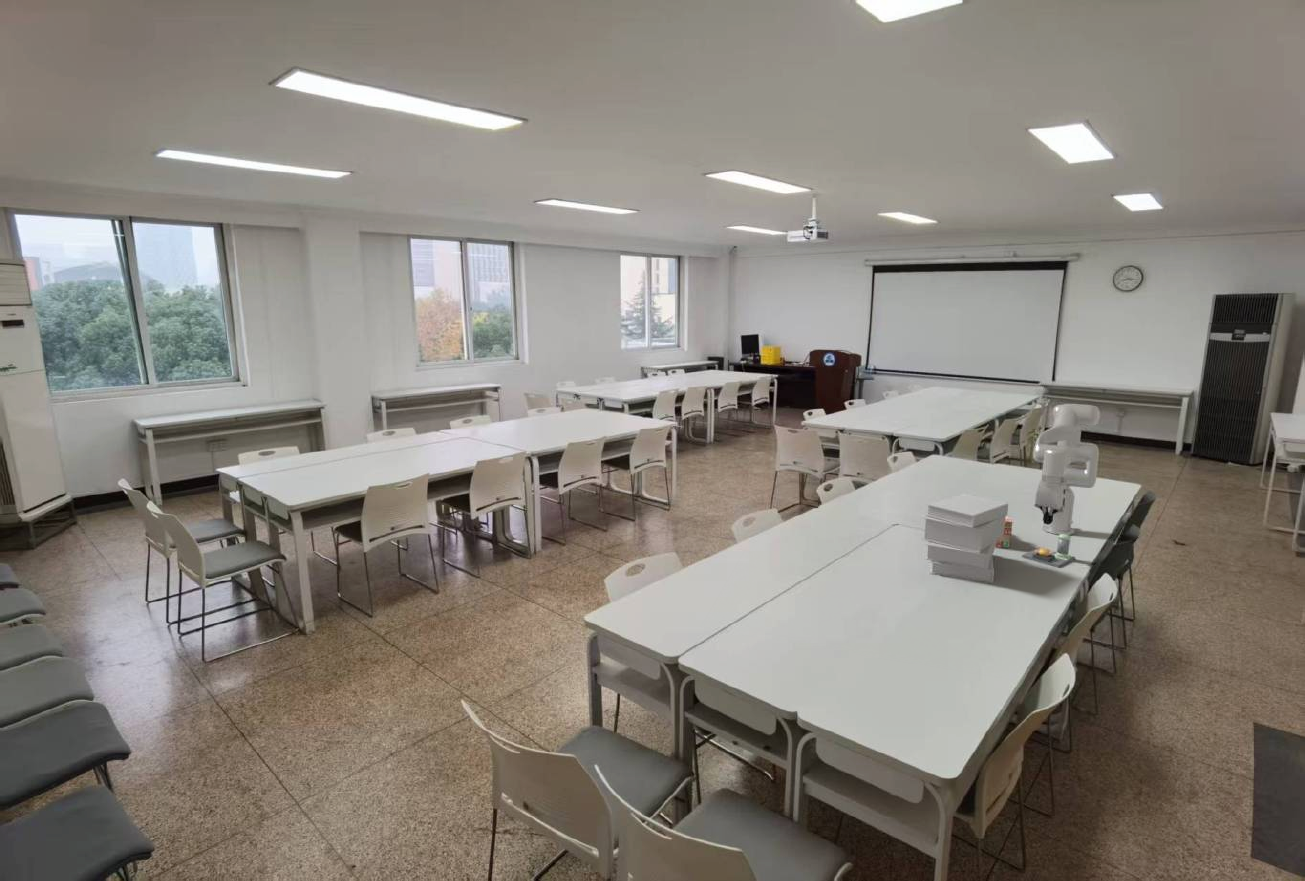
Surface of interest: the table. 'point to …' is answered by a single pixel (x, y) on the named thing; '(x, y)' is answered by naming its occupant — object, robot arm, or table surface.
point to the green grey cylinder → (1063, 545)
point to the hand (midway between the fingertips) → (1047, 523)
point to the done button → (1044, 552)
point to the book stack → (964, 536)
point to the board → (1048, 558)
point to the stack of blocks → (1005, 535)
